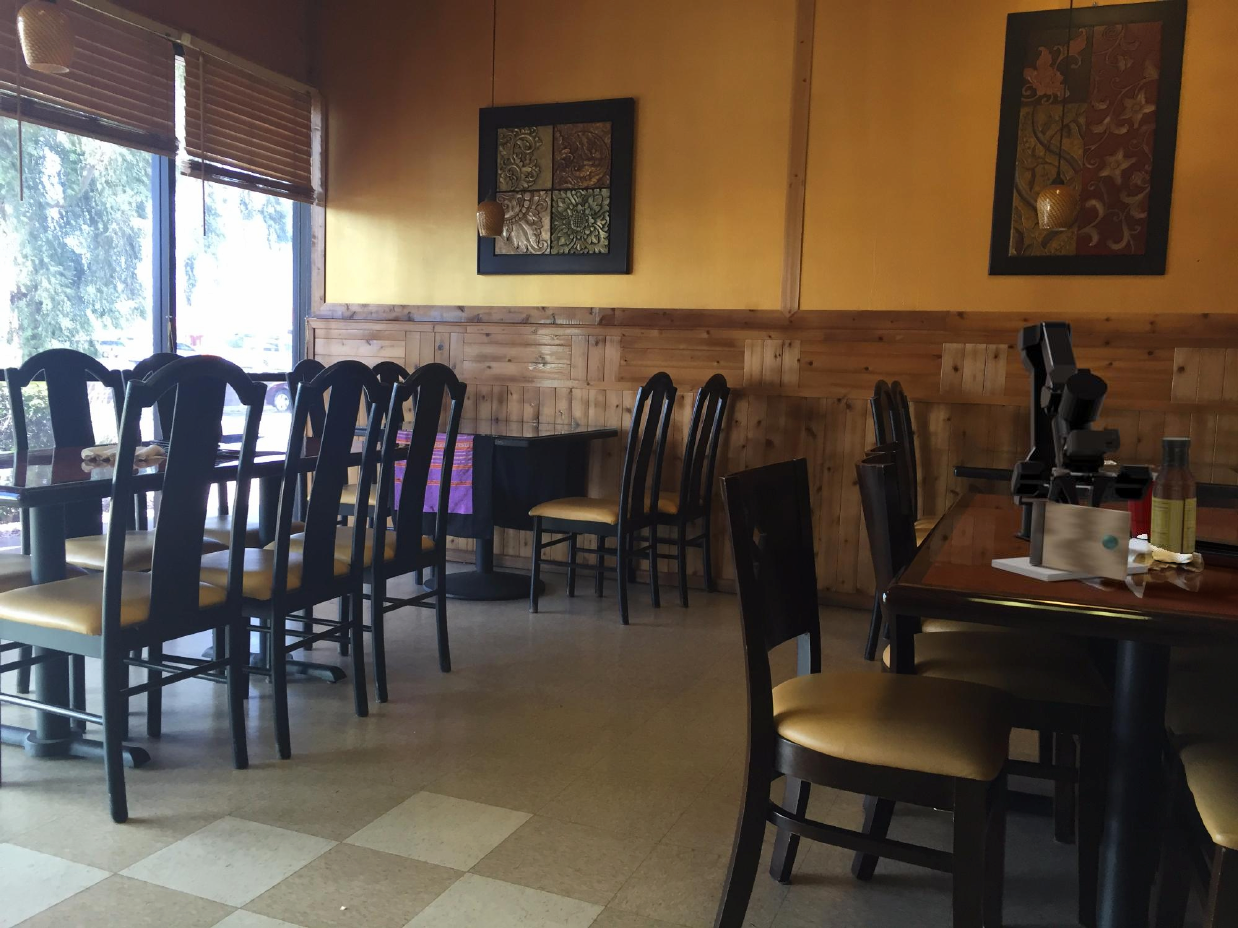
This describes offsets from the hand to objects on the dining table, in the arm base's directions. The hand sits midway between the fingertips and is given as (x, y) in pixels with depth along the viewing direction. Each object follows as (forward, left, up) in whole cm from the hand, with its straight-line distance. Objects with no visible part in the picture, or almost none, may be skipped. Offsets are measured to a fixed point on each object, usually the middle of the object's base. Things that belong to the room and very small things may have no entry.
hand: (1086, 526), depth 143 cm
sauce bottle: (-12, +23, -8) cm, 27 cm away
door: (+1, -2, -6) cm, 7 cm away
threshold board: (-7, +2, -8) cm, 11 cm away
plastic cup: (-32, +34, -8) cm, 47 cm away
